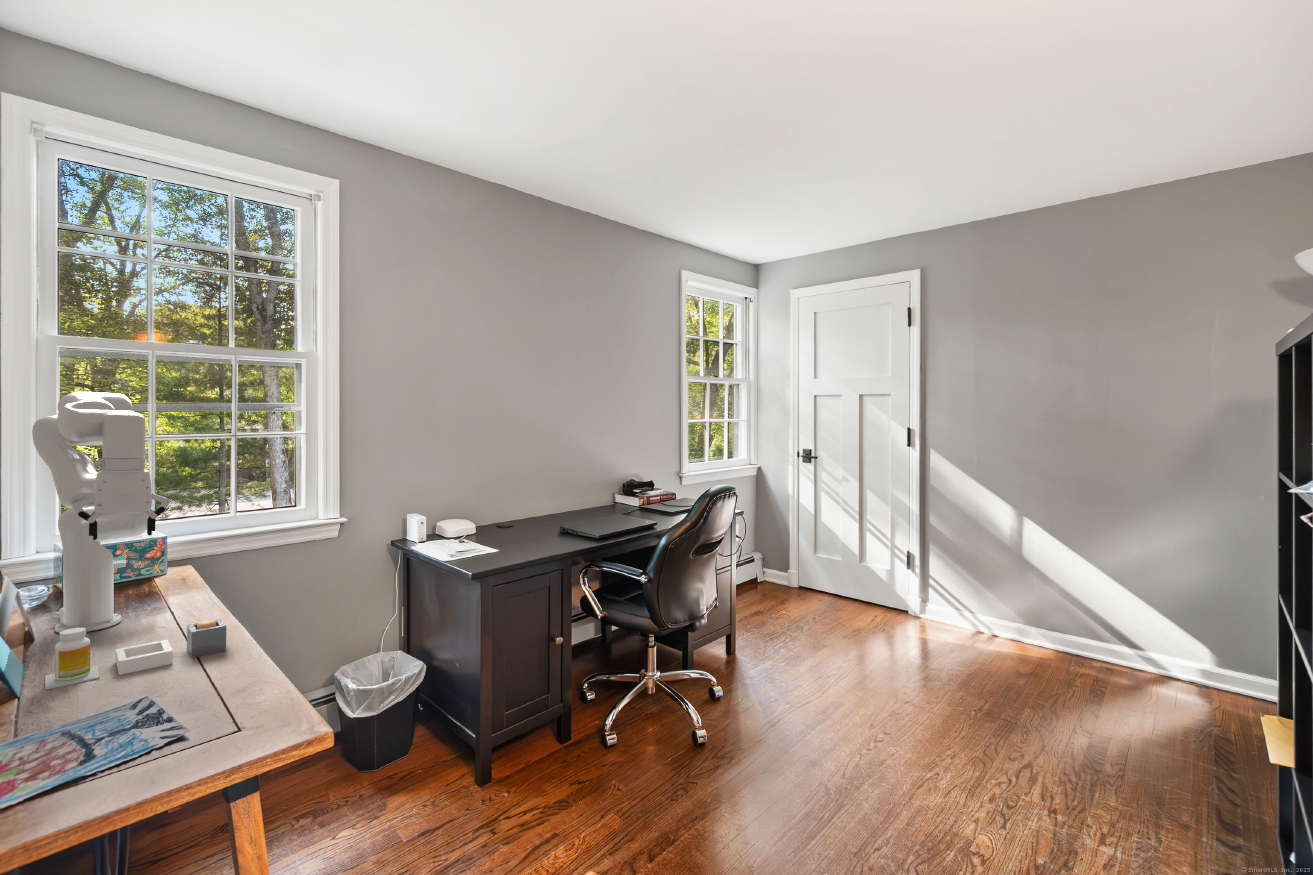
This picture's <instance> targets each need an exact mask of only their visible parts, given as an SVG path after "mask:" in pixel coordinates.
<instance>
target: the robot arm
mask: <svg viewBox="0 0 1313 875" xmlns="http://www.w3.org/2000/svg"><path fill="white" fill-rule="evenodd" d="M133 409H134V407H133V404H132V401H131V400H130V399H129V397H127V396H126V395H125V394H122V393H117V392H116V393H114V392H113V393H112V392H95V391H93V392H91V391H77V392H76V391H75V392H71V393H67V394H66V395H64V396H62V397H61V398H60V399H59V401H58V403H57V410H58V413H57V415H48V416H44V417H41V418H39V419H37V420H36V421H35V422H34V424H33V425H32V428H31V429H32V430H31V433H32V436H31V437H32V441H33V442H32V443H33V444H34V448H35V450H36V452H37V453H38V456H40V458H41V459H42V460H43V462H44V463H45V464H46V465H47V467H48V468H49V470H50V472H51V476H52V479H53V482H54V487H55V491H56V493H57V497H58V499H59V501H60V504H61V505H62V506H63V507H65V508H66V510H65V511H63V512H62V513H60V515H59V517H58V519H57V520H58V521H57V522H58V524H57V526H58V530H59V532H58V533H59V537H60V540H61V547H62V558H63V559H62V560H63V562H62V563H63V565H62V566H63V567H62V568H63V570H62V571H63V572H62V574H63V577H62V579H63V588H62V589H63V590H62V591H63V592H62V593H63V594H62V595H63V599H62V600H63V607H61V608H59V610H58V611H55V612H54V613H53V614H52V617H53V618H58V619H59V618H60V620H59V621H60V622H59V623H57V624H56V625H55V626H54V631H55V632H56V633H59V634H60V632H61V631H64V630H67V629H72V628H85V629H86V633H88V632H94V631H98V630H103V629H106V628H109V627H113V626H115V625H117V624H119V623H120V622H122V615H121V614H118V613H114V610H115V608H114V607H115V606H114V603H115V602H114V600H115V599H114V597H115V596H114V594H115V593H114V587H115V585H114V583H115V581H114V580H115V578H114V574H115V572H114V569H115V568H114V565H115V564H114V563H115V562H114V561H115V560H114V555H113V553H112V552H111V551H110V550H109V549H108V548H107V547H105V546H104V545H103V544H102V543H101V542H105V541H110V540H116V539H117V540H119V539H126V538H128V539H129V538H133V537H138V536H141V535H143V534H144V533H145V532H146V535H147V536H153V535H152V534H153V532H155V531H156V519H158V517H159V516H160V515H161V514H162V513H164V512H165V511H166V509H167V507H169V504H170V503H171V500H170V498H167V497H166V496H162V495H159V494H156V493H153V492H152V480H151V479H152V478H151V474H150V470H148V469H145V467H146V418H145V416H144V415H143V414H141V413H137V412H135V411H134V410H133ZM77 446H78V447H80V446H86V447H87V446H88V447H89V446H93V447H94V446H102V454H101V456H102V457H101V458H100V459H98V460H92V459H91V458H90V457H89V456H88V455H86V454H85V453H83V452H82V451H80V450H78V449H76V448H73V447H77ZM96 467H98V468H101V470H99V471H97V469H96ZM153 501H157V502H160V503H161V504H160V505H159V506H158V507H157V508H156V509H154V510H153V509H152V505H153Z"/></svg>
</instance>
